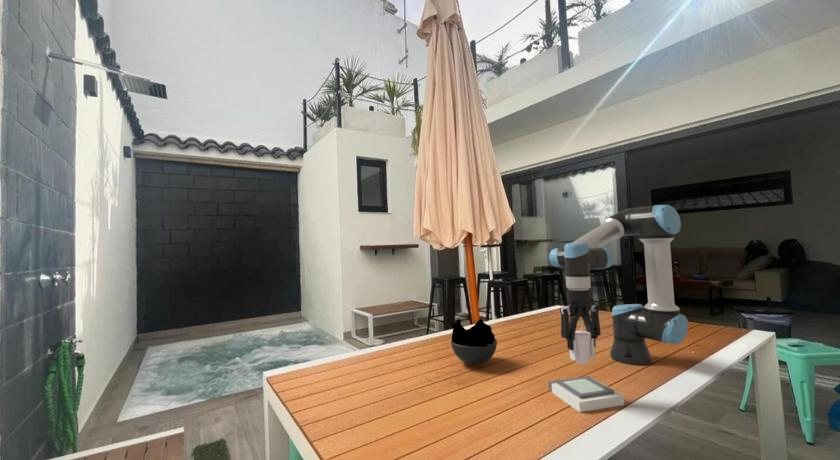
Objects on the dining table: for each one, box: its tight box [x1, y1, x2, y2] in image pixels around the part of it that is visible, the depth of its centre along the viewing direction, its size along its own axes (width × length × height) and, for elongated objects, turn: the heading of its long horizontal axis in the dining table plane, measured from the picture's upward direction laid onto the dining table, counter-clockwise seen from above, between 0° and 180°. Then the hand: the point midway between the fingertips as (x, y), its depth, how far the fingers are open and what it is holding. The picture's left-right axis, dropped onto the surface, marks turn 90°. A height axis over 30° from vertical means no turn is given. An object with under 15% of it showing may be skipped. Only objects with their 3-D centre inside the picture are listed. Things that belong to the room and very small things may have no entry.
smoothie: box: [574, 319, 591, 365], centre depth 113 cm, size 6×6×14 cm
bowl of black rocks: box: [450, 318, 498, 366], centre depth 148 cm, size 20×20×19 cm
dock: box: [548, 375, 625, 413], centre depth 112 cm, size 16×16×4 cm
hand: (582, 358), depth 113 cm, fingers closed on smoothie, 6 cm apart
